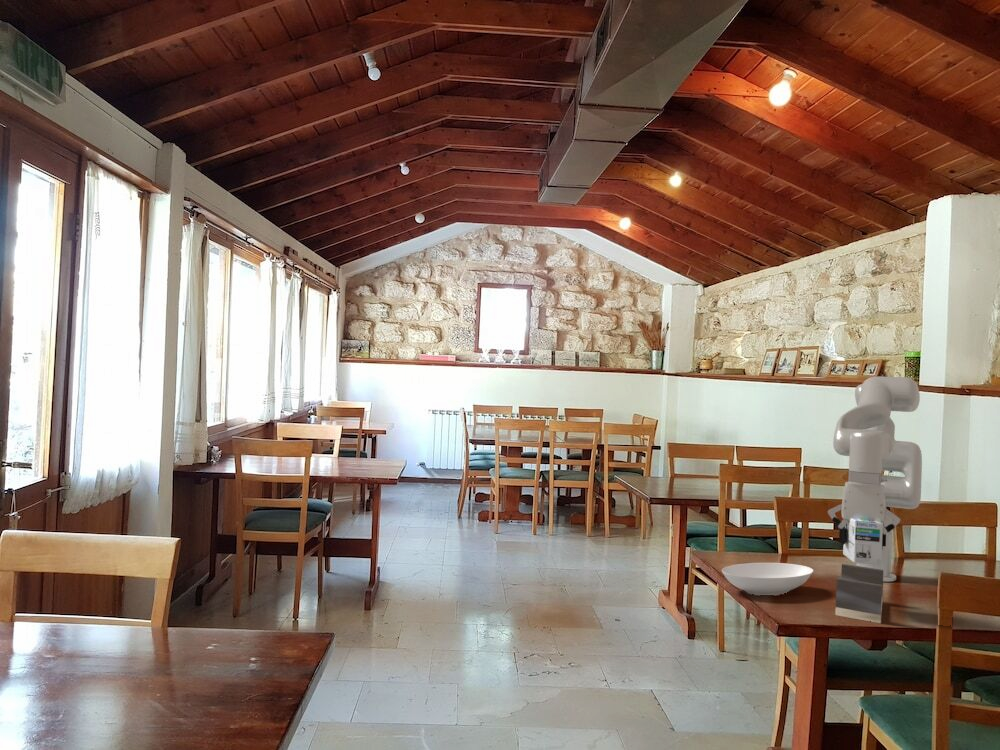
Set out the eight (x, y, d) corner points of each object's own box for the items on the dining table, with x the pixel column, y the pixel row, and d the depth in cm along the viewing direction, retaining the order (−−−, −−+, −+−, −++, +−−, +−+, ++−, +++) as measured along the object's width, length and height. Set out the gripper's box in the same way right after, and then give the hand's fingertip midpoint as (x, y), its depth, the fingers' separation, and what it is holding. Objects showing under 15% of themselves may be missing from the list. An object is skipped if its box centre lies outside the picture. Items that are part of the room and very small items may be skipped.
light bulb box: (882, 566, 176) (884, 523, 176) (853, 563, 177) (855, 520, 177) (868, 556, 186) (870, 516, 186) (841, 554, 187) (843, 513, 188)
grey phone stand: (840, 596, 193) (842, 563, 193) (882, 603, 188) (883, 569, 188) (835, 615, 175) (836, 579, 175) (880, 623, 170) (882, 586, 170)
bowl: (745, 604, 181) (746, 580, 181) (705, 588, 194) (706, 566, 195) (828, 595, 193) (829, 573, 193) (786, 581, 207) (787, 560, 207)
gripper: (903, 481, 181) (900, 549, 181) (829, 474, 190) (826, 539, 189) (903, 483, 174) (900, 554, 174) (826, 476, 183) (823, 543, 183)
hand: (862, 545), depth 182 cm, fingers closed on light bulb box, 8 cm apart
